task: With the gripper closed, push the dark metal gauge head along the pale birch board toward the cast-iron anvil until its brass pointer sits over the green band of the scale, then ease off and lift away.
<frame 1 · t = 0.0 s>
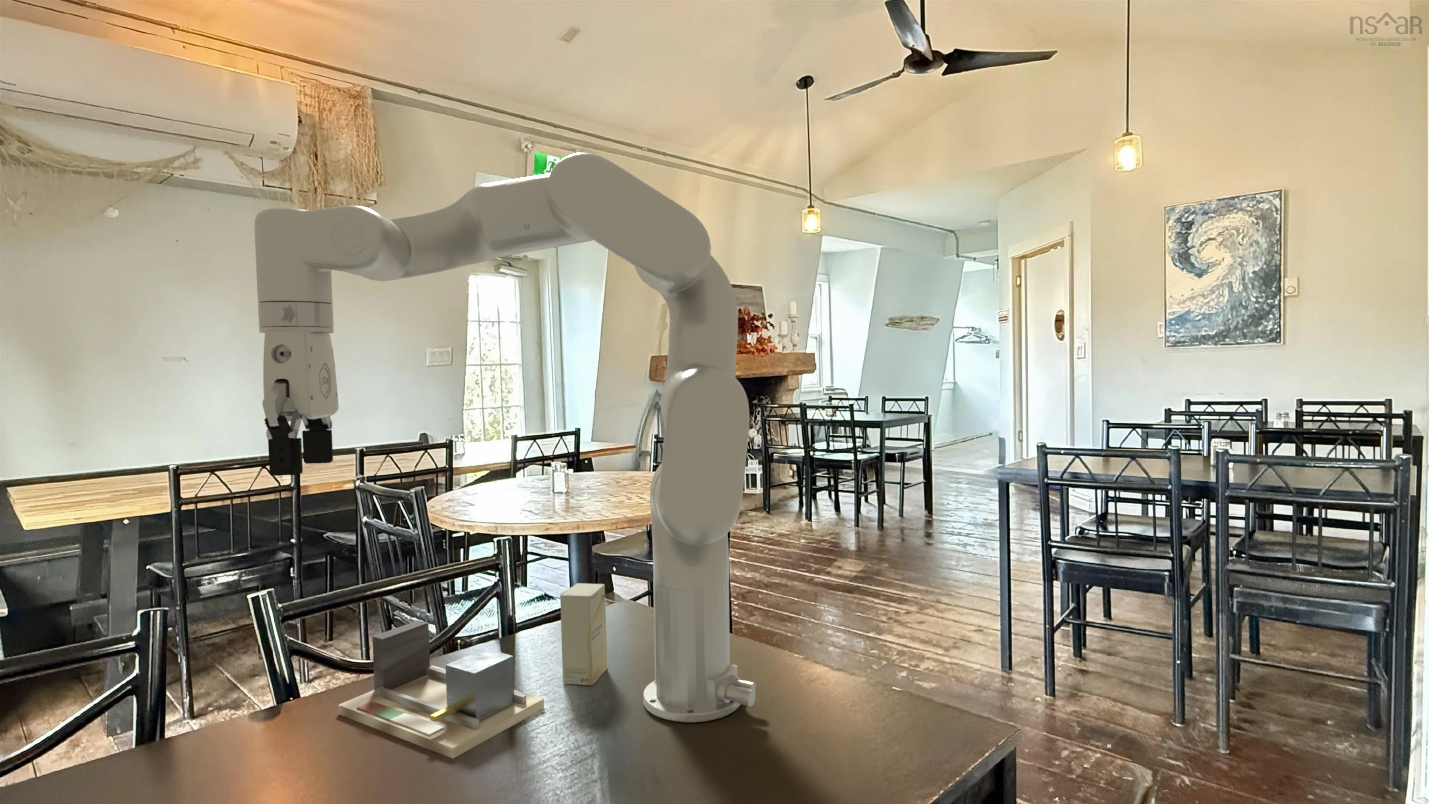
hand: (303, 468, 89), 31 cm above the table, tool pointing down, fingers open, 9 cm apart
gauge board: (441, 711, 95), on the table
gauge head: (467, 690, 91), point 4 cm above the table, slide at 0.0 cm
skincare box: (585, 677, 105), on the table
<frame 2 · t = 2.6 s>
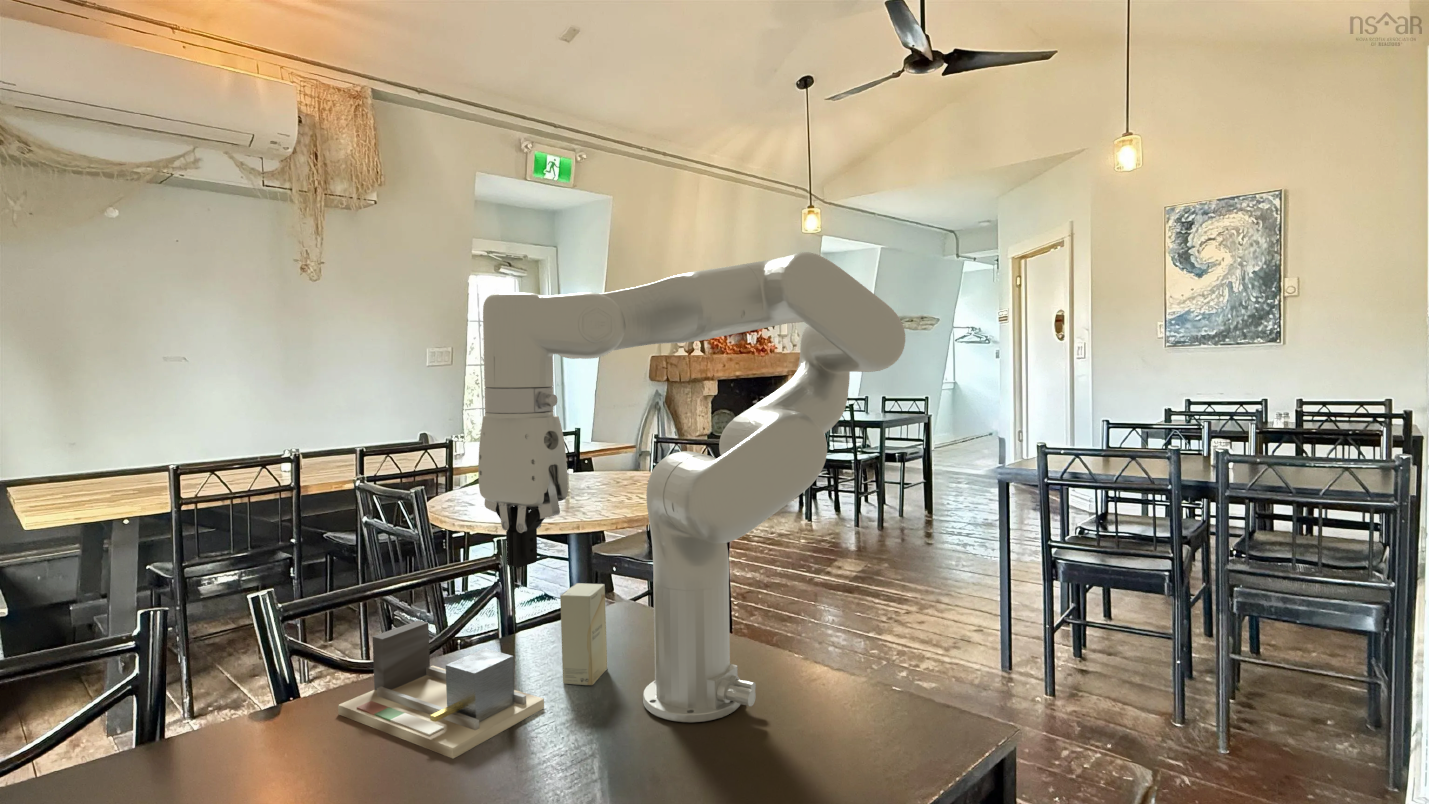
hand: (522, 563, 88), 20 cm above the table, tool pointing down, fingers closed
nothing on the table moved.
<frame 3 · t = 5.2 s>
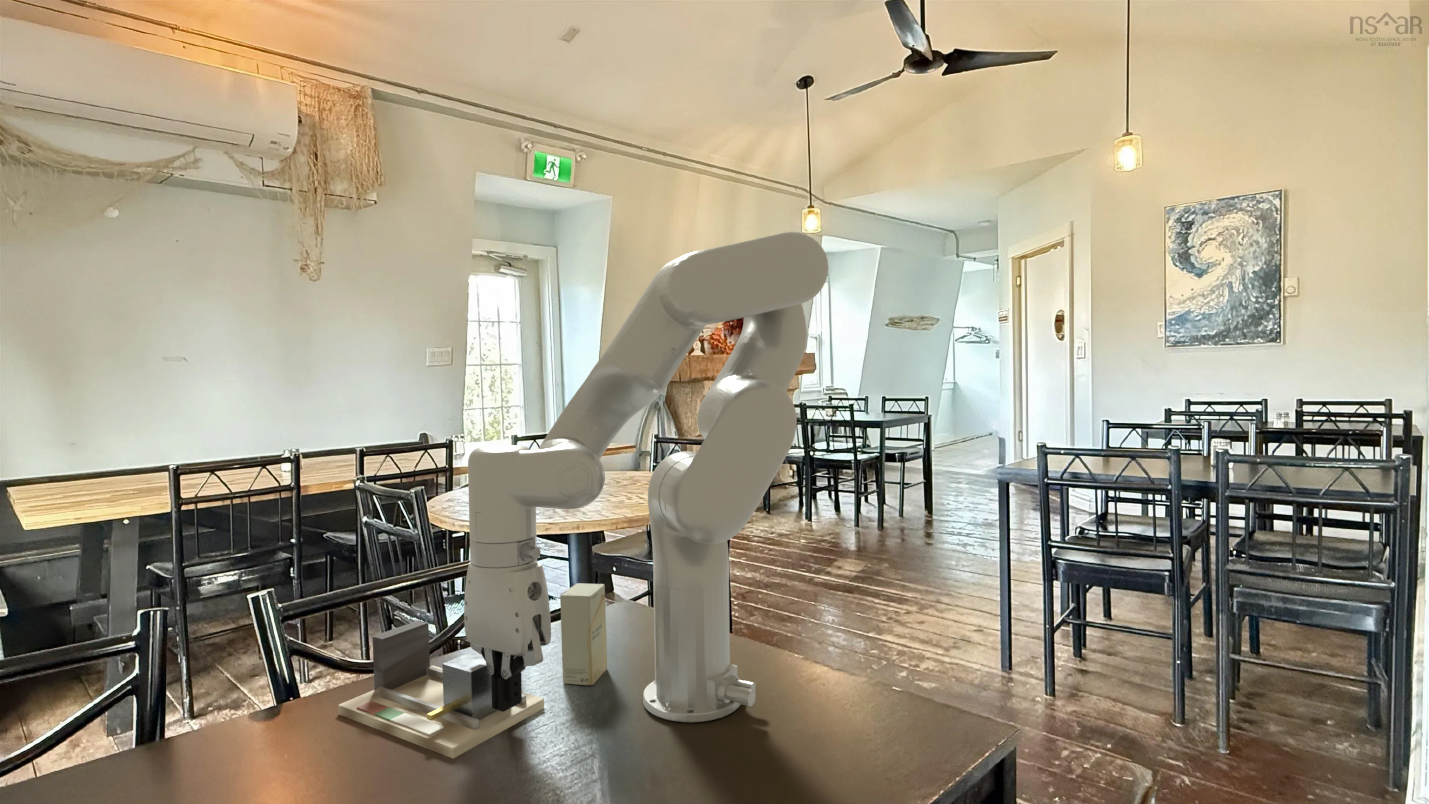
hand: (507, 705, 90), 3 cm above the table, tool pointing down, fingers closed
gauge head: (464, 689, 91), point 4 cm above the table, slide at 0.6 cm, touching gripper
everything else where it was.
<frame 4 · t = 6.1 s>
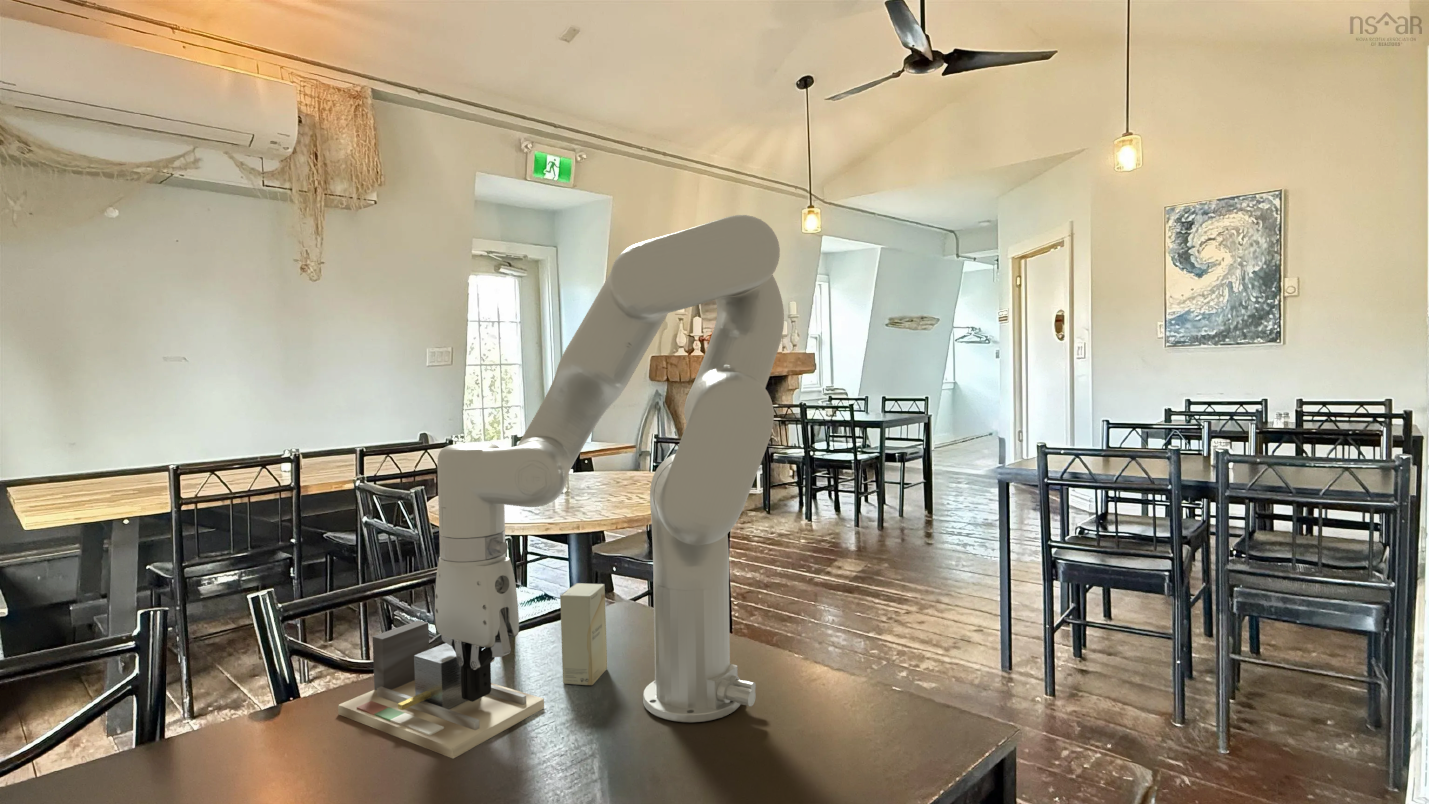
hand: (476, 695, 93), 3 cm above the table, tool pointing down, fingers closed
gauge head: (435, 680, 94), point 4 cm above the table, slide at 5.8 cm, touching gripper
everything else where it was.
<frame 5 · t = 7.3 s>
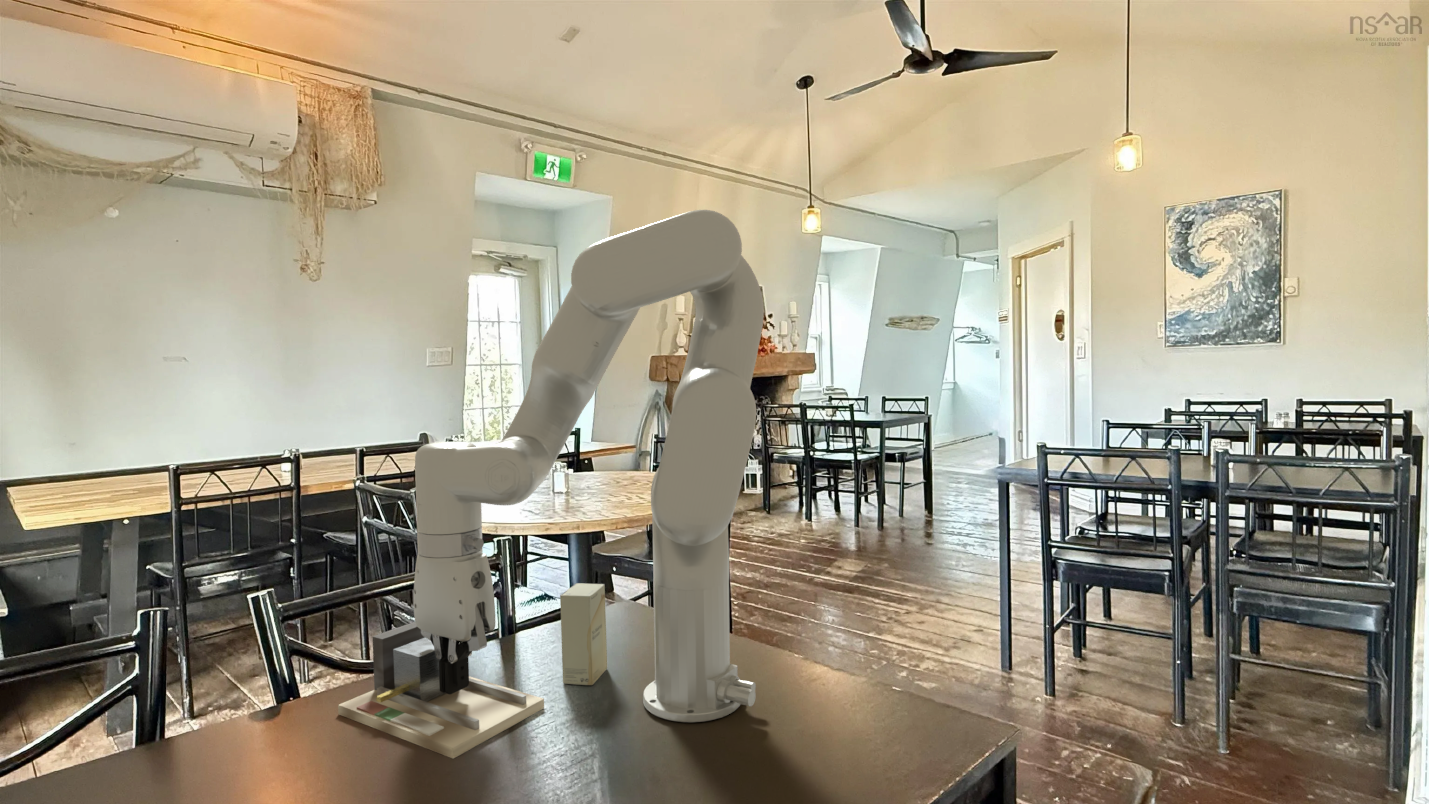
hand: (454, 688, 95), 3 cm above the table, tool pointing down, fingers closed
gauge head: (413, 673, 96), point 4 cm above the table, slide at 9.8 cm, touching gripper
everything else where it was.
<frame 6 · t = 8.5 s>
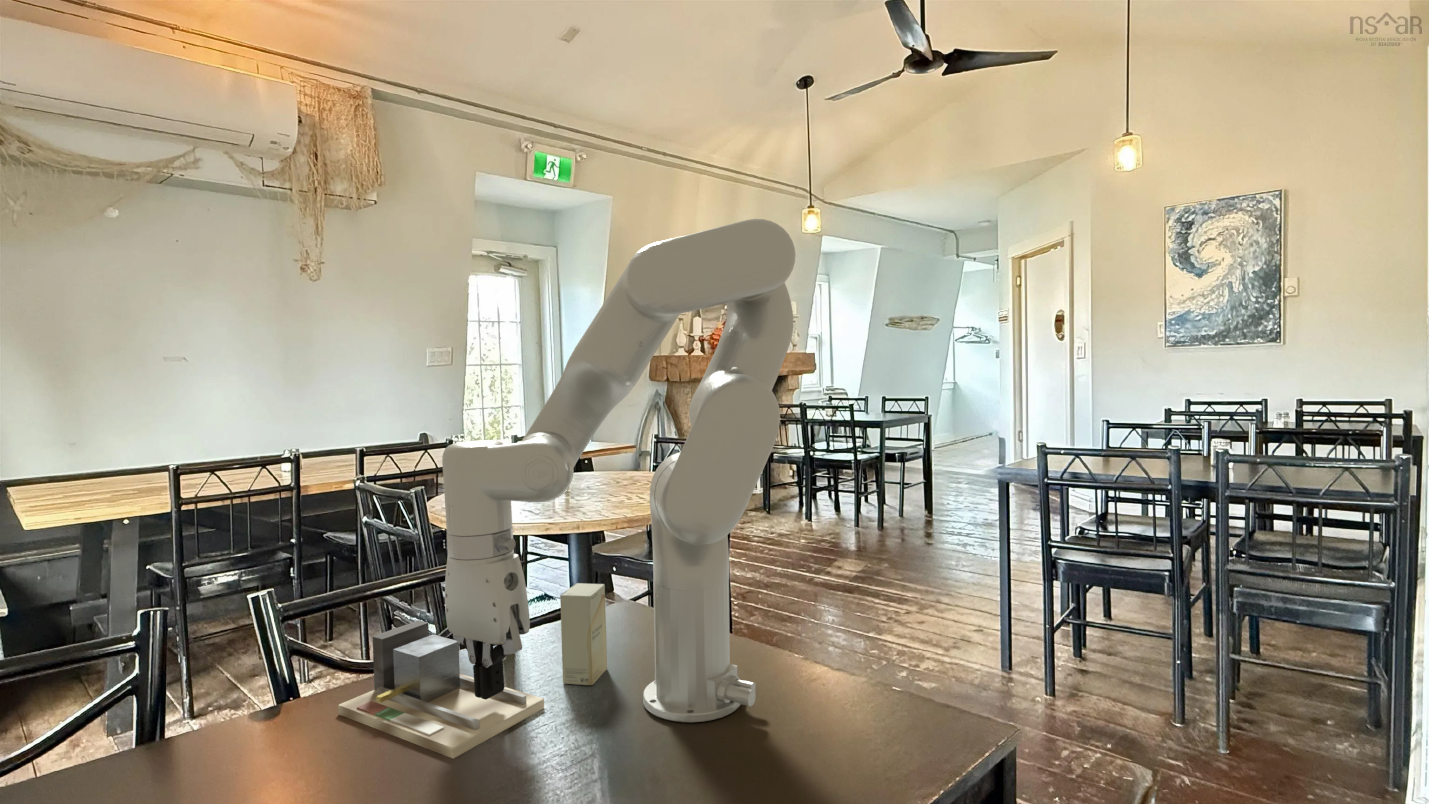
hand: (489, 693, 93), 3 cm above the table, tool pointing down, fingers closed
gauge head: (413, 673, 96), point 4 cm above the table, slide at 9.8 cm
everything else where it was.
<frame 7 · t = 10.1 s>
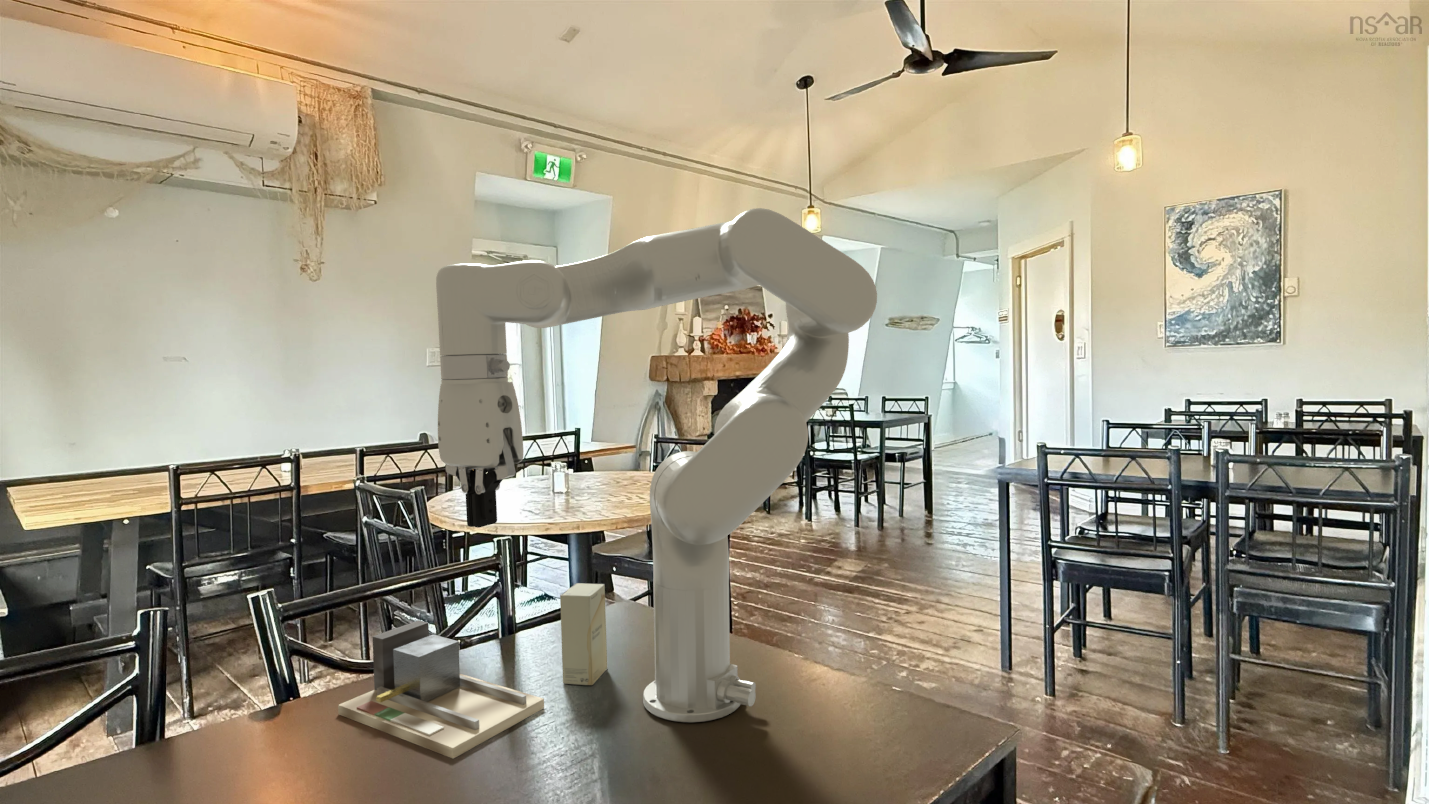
hand: (482, 524, 92), 24 cm above the table, tool pointing down, fingers closed
nothing on the table moved.
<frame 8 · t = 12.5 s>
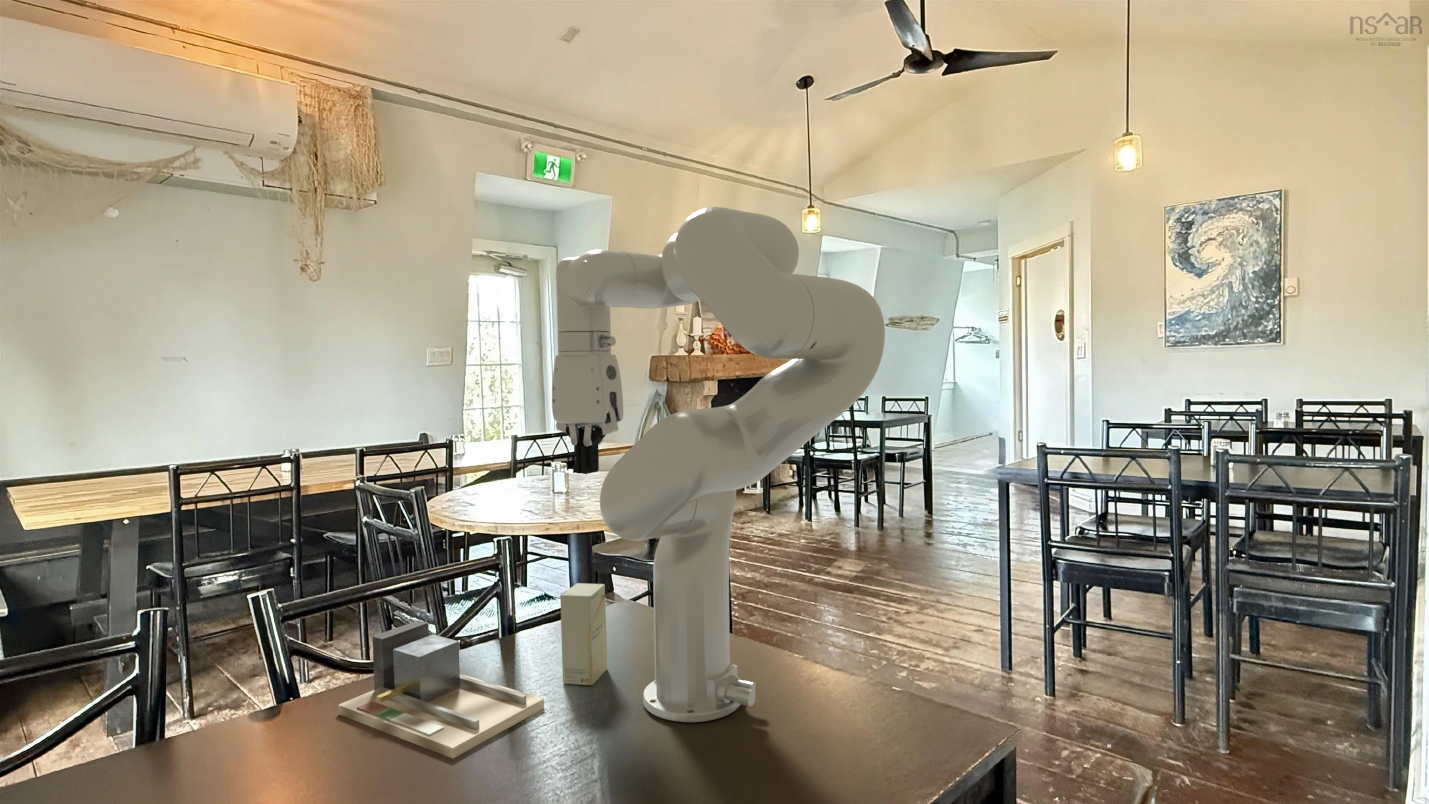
hand: (587, 472, 111), 27 cm above the table, tool pointing down, fingers closed
nothing on the table moved.
at the end: gauge head slide at 9.8 cm; gauge head moved 9.8 cm from its start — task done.
